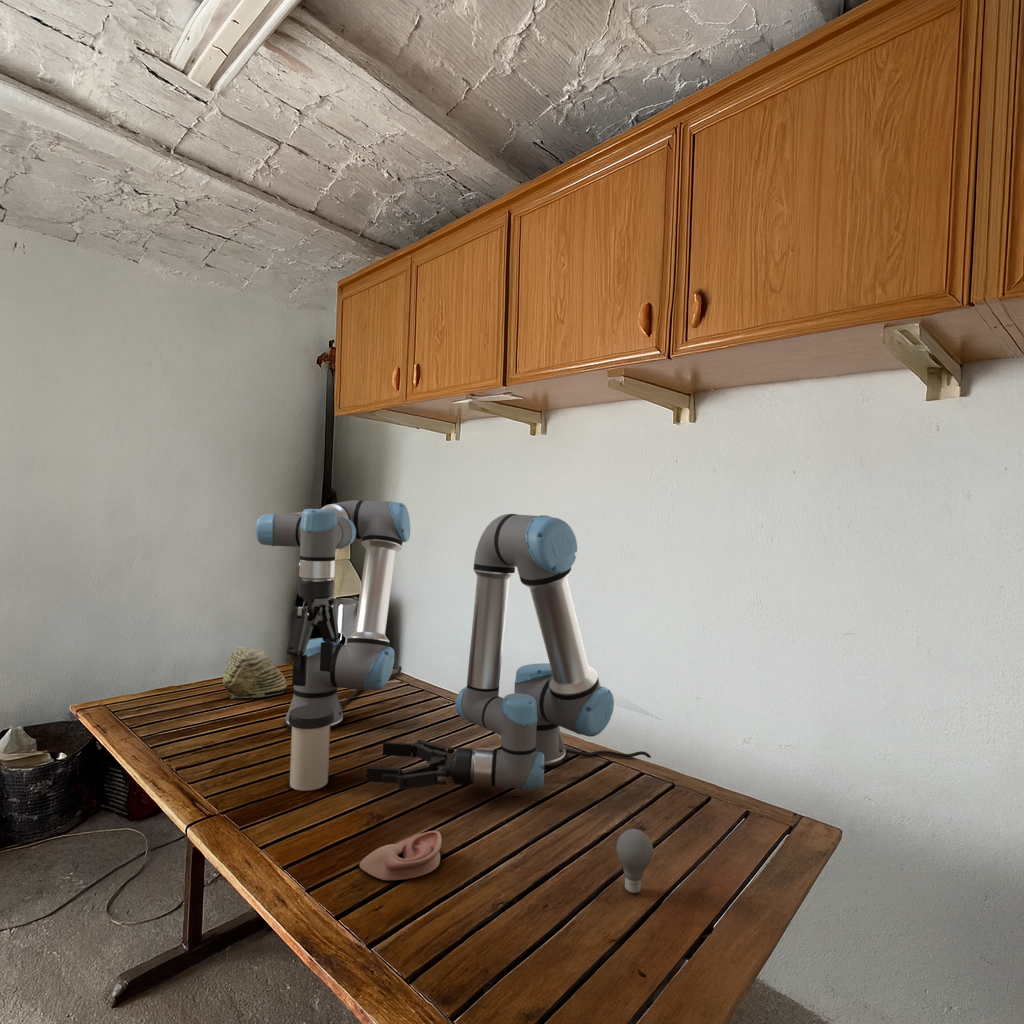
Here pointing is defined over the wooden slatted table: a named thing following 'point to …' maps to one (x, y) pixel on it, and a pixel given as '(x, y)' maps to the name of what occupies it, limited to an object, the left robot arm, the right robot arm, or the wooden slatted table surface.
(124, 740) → the wooden slatted table surface
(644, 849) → the light bulb
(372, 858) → the anatomical model
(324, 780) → the jar
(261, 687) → the fossil
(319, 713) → the lid
